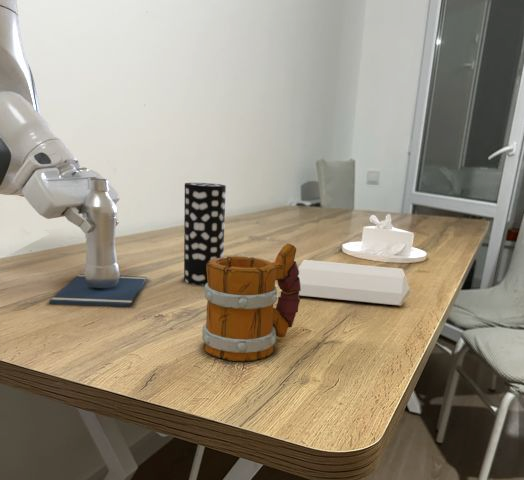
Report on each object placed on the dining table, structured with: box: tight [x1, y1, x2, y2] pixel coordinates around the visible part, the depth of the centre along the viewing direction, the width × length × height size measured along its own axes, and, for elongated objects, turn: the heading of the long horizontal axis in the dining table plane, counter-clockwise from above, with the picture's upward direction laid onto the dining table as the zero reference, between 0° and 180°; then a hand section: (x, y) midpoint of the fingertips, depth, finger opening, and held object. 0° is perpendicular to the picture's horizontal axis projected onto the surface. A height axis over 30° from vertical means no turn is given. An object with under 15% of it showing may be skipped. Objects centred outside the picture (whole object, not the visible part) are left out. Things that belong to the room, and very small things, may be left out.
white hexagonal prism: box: [298, 259, 411, 307], centre depth 105 cm, size 7×7×24 cm
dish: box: [341, 213, 428, 264], centre depth 153 cm, size 25×25×11 cm
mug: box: [201, 243, 301, 362], centre depth 75 cm, size 11×16×15 cm, turn 125°
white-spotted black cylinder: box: [183, 182, 227, 287], centre depth 109 cm, size 8×8×20 cm
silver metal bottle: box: [81, 178, 121, 288], centre depth 97 cm, size 6×7×20 cm
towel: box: [48, 273, 148, 308], centre depth 101 cm, size 14×20×1 cm
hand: (103, 228), depth 96 cm, fingers closed on silver metal bottle, 6 cm apart
